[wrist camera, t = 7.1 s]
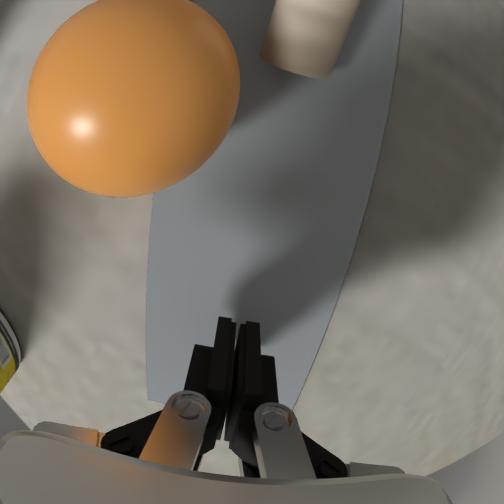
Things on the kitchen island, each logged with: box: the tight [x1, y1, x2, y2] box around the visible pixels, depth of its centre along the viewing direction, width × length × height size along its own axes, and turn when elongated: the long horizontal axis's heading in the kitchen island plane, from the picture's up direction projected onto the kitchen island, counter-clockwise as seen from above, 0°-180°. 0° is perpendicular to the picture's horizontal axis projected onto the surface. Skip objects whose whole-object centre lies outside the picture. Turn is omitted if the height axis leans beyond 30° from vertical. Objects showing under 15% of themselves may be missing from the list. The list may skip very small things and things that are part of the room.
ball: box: [27, 0, 240, 198], centre depth 7 cm, size 6×6×6 cm
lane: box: [146, 0, 403, 410], centre depth 11 cm, size 8×22×1 cm, turn 169°
